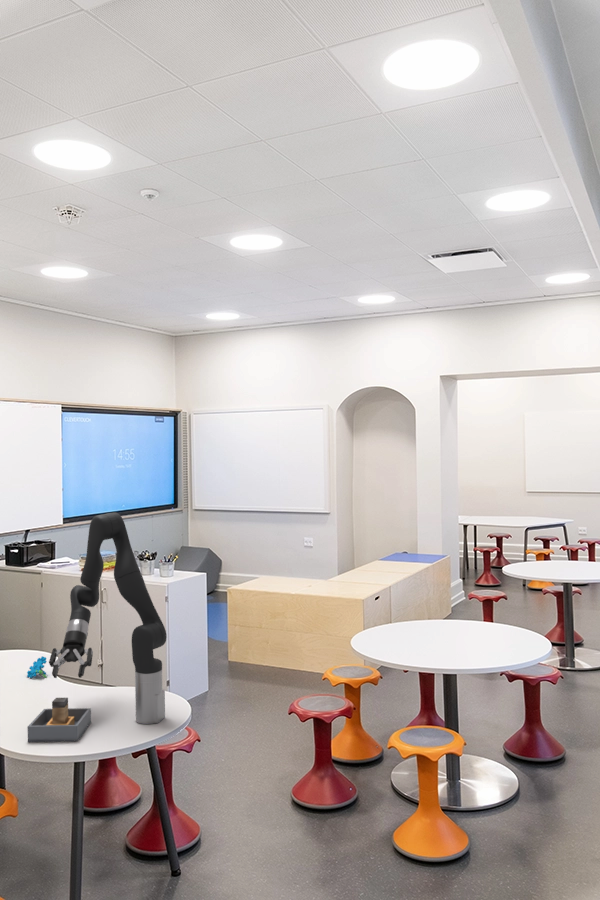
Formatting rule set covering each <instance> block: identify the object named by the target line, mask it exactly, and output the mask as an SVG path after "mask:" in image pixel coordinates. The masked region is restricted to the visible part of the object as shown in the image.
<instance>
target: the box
mask: <svg viewBox="0 0 600 900" xmlns="http://www.w3.org/2000/svg"><path fill="white" fill-rule="evenodd" d="M91 724H92V708H91V707H88V708H87V707H86V708H85V707H83V708H78V707H76V708H71V707H70V708H69V707H68V722H67V723H66V724H52V708H43V710H42V711H40V713H39V714H38V715H37V716H36V717H35V718H34V719H33V720H32V721H31V722H30V723H29V724H28V725H27V743H48V742H49V743H53V742H54V743H55V742H56V743H58V742H60V743H61V742H62V743H63V742H68V743H69V742H70V743H71V742H79V740H80V738H81V737H82V736H83V734H85V732H86V731H87V729H88V728H89V726H90V725H91Z"/></svg>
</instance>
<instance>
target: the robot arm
mask: <svg viewBox="0 0 600 900" xmlns="http://www.w3.org/2000/svg"><path fill="white" fill-rule="evenodd" d="M88 528H89V529H88V535H87V536H88V537H87V545H86V546H87V547H86V554H85V555H86V556H85V561H84V566H83V568H82V571H81V575H80V577H79V578H80V579H79V580H80V583H81V584H82V585H79V584H77V585H75V586H73V587H72V589H71V591H70V594H69V595H70V597H69V598H70V606H71V607H70V610H71V612H70V617H69V620H68V624H67V626H66V629H65V630H66V631H65V634H64V635H65V636H64V640H63V643H62V647H61V649H57V648H55V647H54V648H53V649H52V651H51V654H50V657H49V660H48V664H49V666H50V667H51V668H52V672H51V676H52V677H53V679H57V678H58V673H59V669H60V667H61V666H62V665H64V664H65V663H70V662H71V663H76V662H78V663H79V664H80V665H79V668H78V674H77V675H78V676H77V677H78V678H79V679H81V678H82V677H83V676H84V674H85V670H86V668H87V667H91V666H92V663H93V662H92V661H93V655H94V651H93V649H92V647H88V648H85V647H86V643H87V638H88V636H89V635H88V634H89V626H90V621H91V620H90V619H91V614H92V613H91V610H90V609H89V608H94V607H95V606H97V604H98V603H99V601H100V583H101V582H100V581H101V578H102V574H103V573H104V566H105V565H104V558H103V557H102V554H101V546H102V544H103V542H104V541H106V540H107V541H108V540H111V539H112V541H113V543H114V546H115V550H116V558H115V562H114V569H113V578H114V582H115V584H116V587H117V589H118V592H119V594H120V596H121V597H122V598H123V599H124V600H125V601H126V602H127V603H128V604H129V605H130V606H131V607H132V608H133V609H135V611H136V612H137V614H138V615H139V618H140V620H141V622H142V624H141V625H138V626H136V627H135V628H134V630H133V631H132V633H131V656H132V663H133V665H134V671H135V672H134V675H135V677H134V684H135V686H134V688H135V690H134V693H135V698H134V699H135V721H136V722H137V724H138V723H139V724H144V725H149V724H150V725H151V724H159V723H160V722H161V721H162V720H164V718H166V691H165V690H164V689H163V661H162V660H161V659H160V658H156V657H155V656H154V650H156V649H159V648H161V647H163V646H164V645H165V644H166V642H167V638H168V637H167V630H166V628H165V625H164V623H163V622H162V619H161V617H160V616H159V613H158V612H157V609H156V607H155V605H154V603H153V601H152V598H151V596H150V593H149V590H148V588H147V586H146V582H145V580H144V577H143V575H142V573H141V569H140V567H139V565H138V562H137V560H136V557H135V554H134V551H133V548H132V546H131V541H130V539H129V538H130V537H129V534H128V531H127V530H128V529H127V528H126V524H125V521H124V519H123V517H122V516H121V514H120V513H118V512H115V511H114V512H108V513H102V514H98V515H95V516H93V518H92V519H91V520H90V523H89V527H88ZM87 607H88V608H87ZM59 655H60V656H59ZM84 655H86V661H84V659H83V656H84ZM57 657H58V658H57ZM154 657H155V658H154Z"/></svg>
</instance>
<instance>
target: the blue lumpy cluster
mask: <svg viewBox="0 0 600 900" xmlns="http://www.w3.org/2000/svg"><path fill="white" fill-rule="evenodd" d="M36 659H37V660H35V661H33V663H32V665H30V666H29V670H28V671H27V672H26V677H27V678H30V679H32V678H34V677H36V676H37V674H38V675H39V676H42V677H44V679H45V678H47V677H48V676H47V672H46V671H45V670H43V669H44V668H45V664H47V657H46V656H41V657H38V658H36Z"/></svg>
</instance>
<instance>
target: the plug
mask: <svg viewBox="0 0 600 900" xmlns="http://www.w3.org/2000/svg"><path fill="white" fill-rule="evenodd" d="M51 709H52V724H66V723H67V722H68V709H69V697H55V698H54V699H53V700H52V701H51Z"/></svg>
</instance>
